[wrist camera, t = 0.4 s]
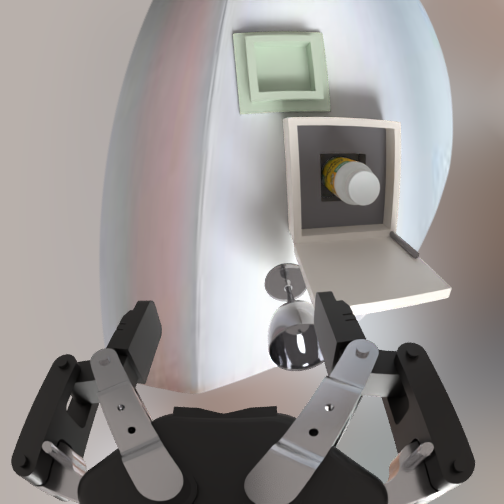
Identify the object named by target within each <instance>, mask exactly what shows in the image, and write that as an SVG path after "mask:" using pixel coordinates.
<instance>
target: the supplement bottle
mask: <svg viewBox="0 0 504 504" xmlns="http://www.w3.org/2000/svg"><path fill="white" fill-rule="evenodd" d="M321 177H322V182H323V184H324V186H325V187H326V188H327V189H328V190H329V191H330V192H332V193H333V194H334V195H336V196H337V197H338V198H340V199H341V200H342V201H344V202H345V203H347V204H351V205H369V204H371V203H372V202H374V201H375V200H376V198H377V197H378V195H379V191H380V183H379V180H378V178H377V177H376V176H375V175H374V174H373V173H372V171H371V169H370V168H369V167H368V166H367V165H365V164H363V163H361V162H358V161H355V160H352V159H349V158H345V157H340V156H338V157H333V158H331V159H329V160H328V161H326V163H325V164H324V166H323V168H322V171H321Z"/></svg>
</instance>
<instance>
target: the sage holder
mask: <svg viewBox="0 0 504 504" xmlns="http://www.w3.org/2000/svg"><path fill="white" fill-rule="evenodd" d="M233 42H234V53H235V64H236V74H237V85H238V96H239V107H240V115H243V114H255V113H271V112H304V111H317V112H330V111H331V109H330V96H329V85H328V75H327V65H326V57H325V49H324V41H323V34H322V33H318V32H298V31H268V32H247V33H235V34H233Z"/></svg>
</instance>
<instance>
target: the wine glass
mask: <svg viewBox="0 0 504 504" xmlns="http://www.w3.org/2000/svg"><path fill="white" fill-rule="evenodd" d="M265 289H266V291H267V293H268V294H269V295H270V296H271V297H272V298H274V299H276V300H279V301H287V303H285V304H283V305H282V306H280V307H279V308H278V309H277V310H276V311H275V313H274V314H273V316H272V318H271V321H270V325H269V330H268V352H269V357H270V359H271V361H272V362H273V363H274V364H275V365H276V366H278V367H280V368H282V369H285V370H289V371H302V370H307V369H311V368H313V367H316V366H318V365H320V364H321V363H323V362H324V359H323V355H322V352H321V348H320V345H319V342H318V338H317V335H316V332H315V328H314V308H313V305H312V304H311V303H309V302H306V301H300V300H295V299H297V298H298V297H300V296H301V295H302V294H303V293H304V292H305V291H306V289H307V287H306V284H305V281H304V278H303V276H302V273H301V270H300V267H299V266H298V265H295V264H282V265H279V266H277V267H275V268H273V269H272V270H271V271H270V272H269V273H268V275H267V277H266V279H265Z"/></svg>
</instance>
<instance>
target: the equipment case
mask: <svg viewBox="0 0 504 504" xmlns="http://www.w3.org/2000/svg"><path fill="white" fill-rule="evenodd" d="M283 133H284V147H285V163H286V180H287V200H288V224H289V232H290V235H291V237H292V240H293V243H294V253H295V256H296V259H297V261H298V264H299V267H300V270H301V273H302V276H303V278H304V281H305V284H306V287H307V290H308V293H309V296H310V299H311V302H312V305H313V308H314V309H315V297H316V293H317V292H327V291H332V293H333V295H334V297H335V299H336V301H339V300H343V301H344V302H345V303H347V304H348V305H349V306H350V308H351V309H352V311H353V314H354V315H361V314H367V313H373V312H379V311H384V310H390V309H395V308H401V307H406V306H411V305H416V304H421V303H426V302H431V301H435V300H440V299H444V298H448V297H449V295H450V291H451V287H450V286H449V285H448V284H447V283H446V282H445V281H444V280H443V279H442V278H441V277H440V276H439V275H438V274H437V273H436V272H435V271H434V270H433V269H432V268H431V267H429V265H427V264H426V263H425V262H424V261H423V260H422V259H421V258H420V257H419V253H418V252H417V251H416V250H415V249H413V248H412V247H411V246H410V245H409V244H408V243H406V242H405V241H404V240H403V239H402V238H401V237H399V236H398V235H397V234H396V228H397V219H398V208H399V194H400V175H401V122H395V121H386V120H374V119H361V118H340V117H288V118H284V119H283ZM332 153H347V154H359V162H361V163H363V164H365V165H367V166H368V167H369V168H370V169H371V171H372V173H373V174H374V175H375V176H376V177H377V178H378V180H379V183H380V191H379V195H378V197H377V198H376V200H375V201H374V202H372V203H371V204H369V205H351V204H347V203H345V202H344V201H342V200H341V199H340V198H338V197H337V196H331V197H321V165H320V154H332Z"/></svg>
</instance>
